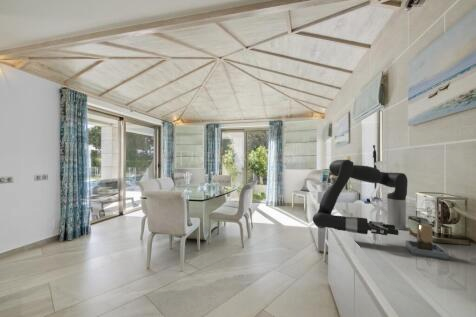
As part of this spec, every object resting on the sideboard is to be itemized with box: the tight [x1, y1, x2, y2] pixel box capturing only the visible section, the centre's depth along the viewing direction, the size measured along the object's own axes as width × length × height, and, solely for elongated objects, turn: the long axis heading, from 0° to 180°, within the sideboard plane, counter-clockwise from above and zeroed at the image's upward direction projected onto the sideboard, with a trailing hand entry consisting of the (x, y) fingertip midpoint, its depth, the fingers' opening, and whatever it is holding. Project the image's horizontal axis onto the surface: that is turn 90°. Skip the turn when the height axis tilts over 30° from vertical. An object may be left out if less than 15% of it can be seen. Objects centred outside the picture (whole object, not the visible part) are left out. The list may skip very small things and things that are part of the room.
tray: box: [405, 239, 449, 261], centre depth 95 cm, size 12×12×2 cm
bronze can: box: [416, 224, 434, 251], centre depth 95 cm, size 5×5×11 cm
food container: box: [407, 215, 431, 239], centre depth 115 cm, size 12×6×10 cm, turn 168°
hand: (396, 230), depth 100 cm, fingers open, 8 cm apart
